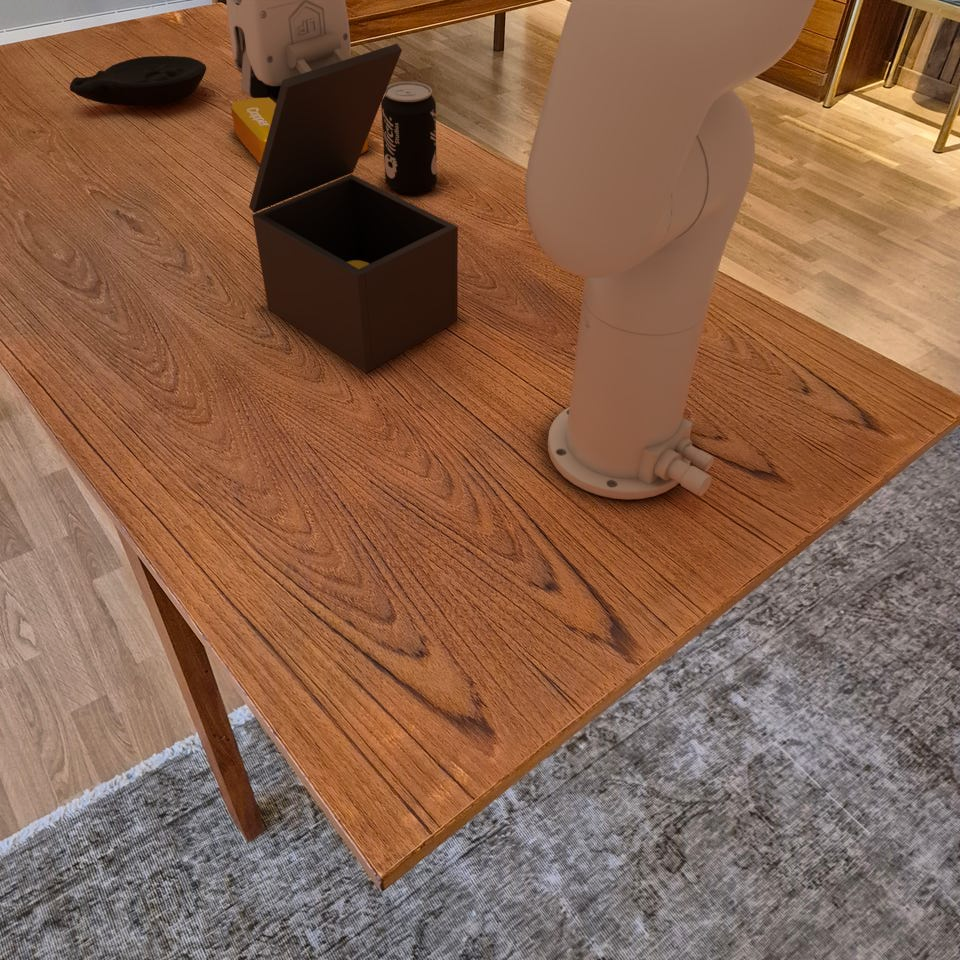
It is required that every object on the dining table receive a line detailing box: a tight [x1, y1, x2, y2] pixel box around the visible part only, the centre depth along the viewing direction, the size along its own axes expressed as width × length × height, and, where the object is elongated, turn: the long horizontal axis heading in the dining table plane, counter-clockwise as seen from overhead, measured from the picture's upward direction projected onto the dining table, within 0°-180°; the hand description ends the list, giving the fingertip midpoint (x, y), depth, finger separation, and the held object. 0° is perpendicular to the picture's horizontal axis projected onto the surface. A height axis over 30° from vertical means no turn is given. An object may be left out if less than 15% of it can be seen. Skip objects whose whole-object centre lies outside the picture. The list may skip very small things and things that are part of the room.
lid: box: [248, 33, 403, 214], centre depth 82 cm, size 16×13×5 cm
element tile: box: [230, 97, 369, 165], centre depth 121 cm, size 15×15×5 cm
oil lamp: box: [69, 55, 207, 108], centre depth 130 cm, size 15×20×5 cm
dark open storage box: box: [251, 173, 459, 374], centre depth 89 cm, size 16×13×11 cm
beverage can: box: [380, 81, 438, 196], centre depth 110 cm, size 7×7×12 cm
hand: (302, 146), depth 85 cm, fingers closed
